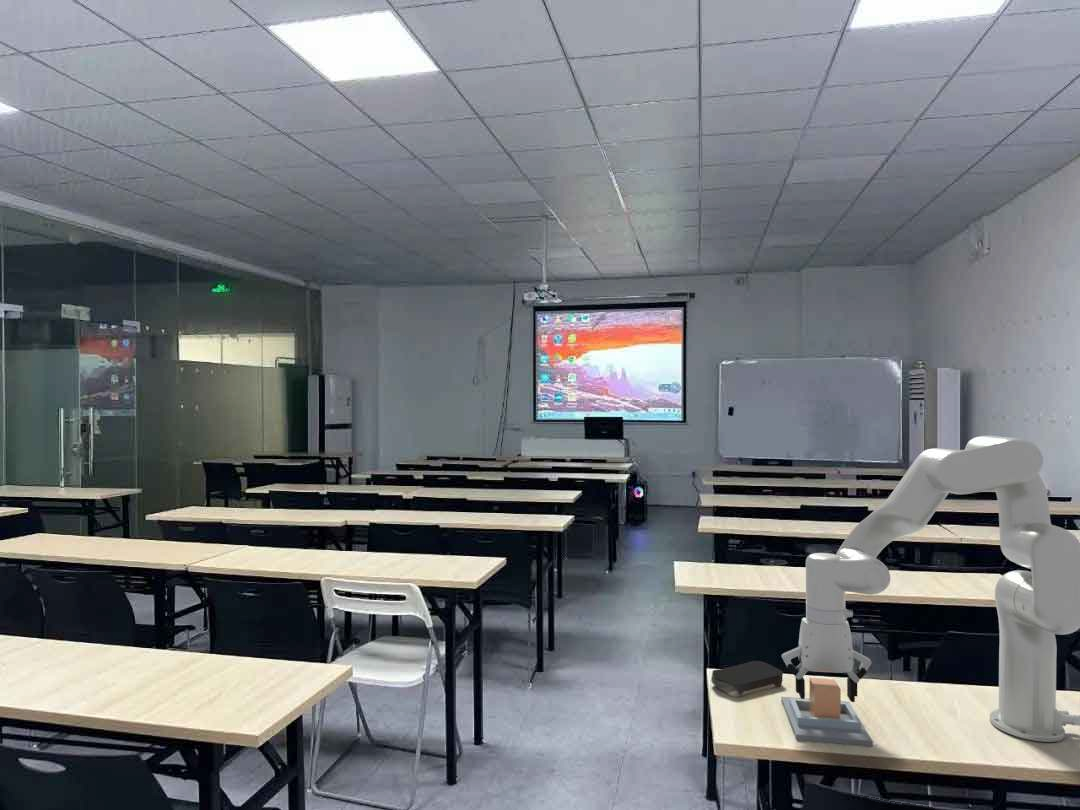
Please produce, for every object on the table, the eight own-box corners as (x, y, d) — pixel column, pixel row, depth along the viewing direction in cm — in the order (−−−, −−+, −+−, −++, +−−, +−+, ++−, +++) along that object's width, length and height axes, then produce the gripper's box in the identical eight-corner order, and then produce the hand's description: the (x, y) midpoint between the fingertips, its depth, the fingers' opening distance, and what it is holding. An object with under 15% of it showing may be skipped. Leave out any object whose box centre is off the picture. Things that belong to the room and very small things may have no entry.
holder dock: (848, 706, 153) (848, 694, 153) (872, 746, 135) (872, 733, 135) (781, 701, 155) (781, 689, 155) (796, 739, 138) (796, 726, 138)
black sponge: (759, 674, 171) (759, 659, 171) (786, 687, 164) (786, 671, 164) (707, 687, 164) (707, 671, 164) (733, 700, 156) (733, 684, 156)
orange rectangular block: (834, 713, 147) (834, 679, 147) (840, 723, 142) (840, 689, 142) (809, 711, 148) (809, 677, 148) (814, 721, 143) (814, 687, 143)
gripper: (865, 611, 147) (865, 693, 147) (778, 607, 150) (779, 687, 150) (875, 622, 140) (876, 708, 140) (784, 618, 143) (785, 702, 143)
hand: (826, 697), depth 145 cm, fingers open, 9 cm apart
